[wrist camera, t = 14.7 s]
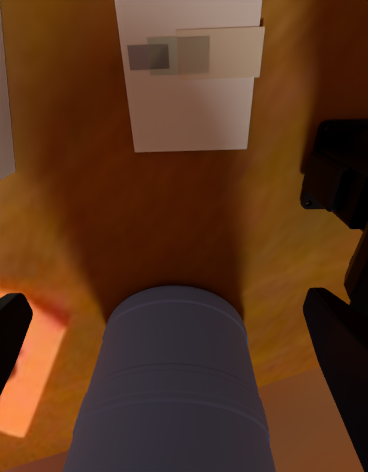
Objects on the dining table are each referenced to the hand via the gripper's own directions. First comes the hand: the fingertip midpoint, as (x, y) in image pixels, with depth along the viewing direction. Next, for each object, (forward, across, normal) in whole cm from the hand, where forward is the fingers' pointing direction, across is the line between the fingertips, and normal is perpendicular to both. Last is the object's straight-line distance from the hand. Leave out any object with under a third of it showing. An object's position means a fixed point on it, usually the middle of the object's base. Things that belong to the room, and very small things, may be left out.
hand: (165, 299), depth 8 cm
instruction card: (+13, -1, -7) cm, 15 cm away
